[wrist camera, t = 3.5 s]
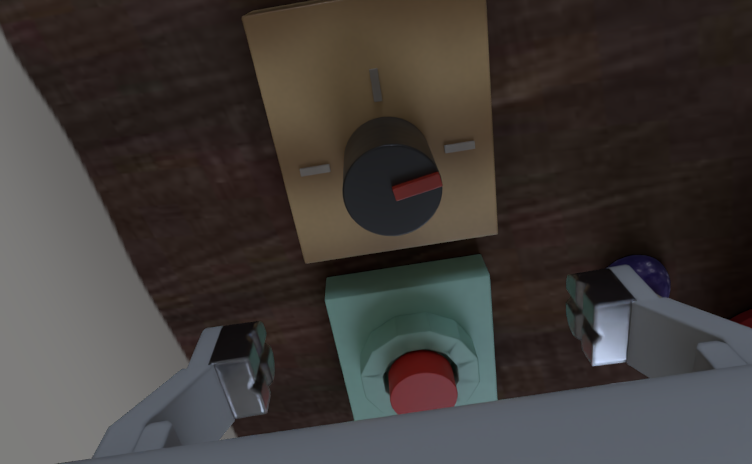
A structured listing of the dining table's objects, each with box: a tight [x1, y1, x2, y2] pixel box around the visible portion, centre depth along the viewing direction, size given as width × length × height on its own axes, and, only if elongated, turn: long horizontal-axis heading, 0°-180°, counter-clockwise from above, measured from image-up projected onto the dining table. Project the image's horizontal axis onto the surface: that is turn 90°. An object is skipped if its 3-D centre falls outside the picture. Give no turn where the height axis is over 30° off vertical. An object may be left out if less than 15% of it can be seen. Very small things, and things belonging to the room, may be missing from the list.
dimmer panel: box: [242, 0, 498, 264], centre depth 25 cm, size 12×10×3 cm
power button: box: [388, 350, 458, 415], centre depth 28 cm, size 4×4×2 cm
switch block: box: [325, 254, 498, 421], centre depth 30 cm, size 10×9×4 cm
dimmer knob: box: [342, 117, 443, 236], centre depth 22 cm, size 4×4×4 cm
